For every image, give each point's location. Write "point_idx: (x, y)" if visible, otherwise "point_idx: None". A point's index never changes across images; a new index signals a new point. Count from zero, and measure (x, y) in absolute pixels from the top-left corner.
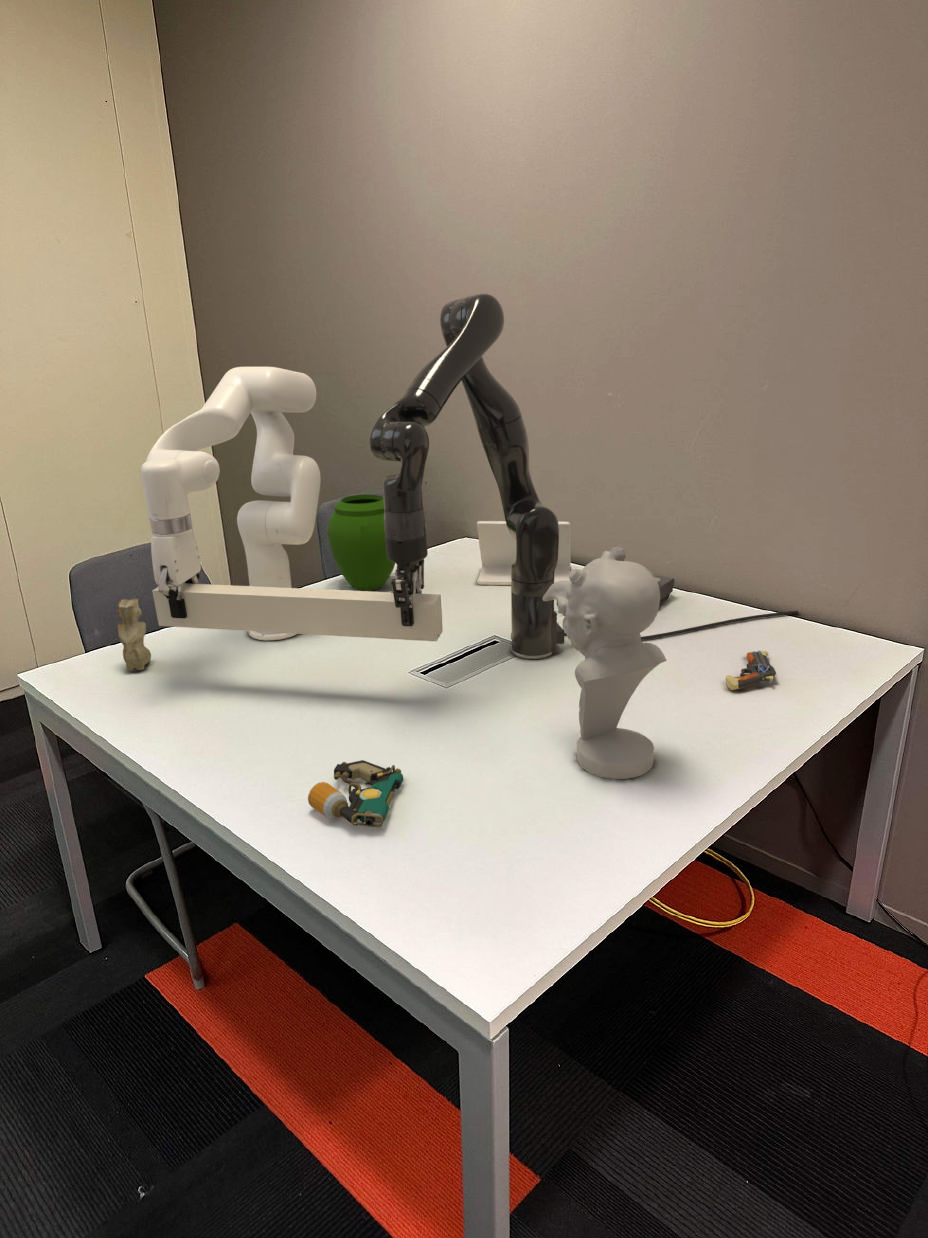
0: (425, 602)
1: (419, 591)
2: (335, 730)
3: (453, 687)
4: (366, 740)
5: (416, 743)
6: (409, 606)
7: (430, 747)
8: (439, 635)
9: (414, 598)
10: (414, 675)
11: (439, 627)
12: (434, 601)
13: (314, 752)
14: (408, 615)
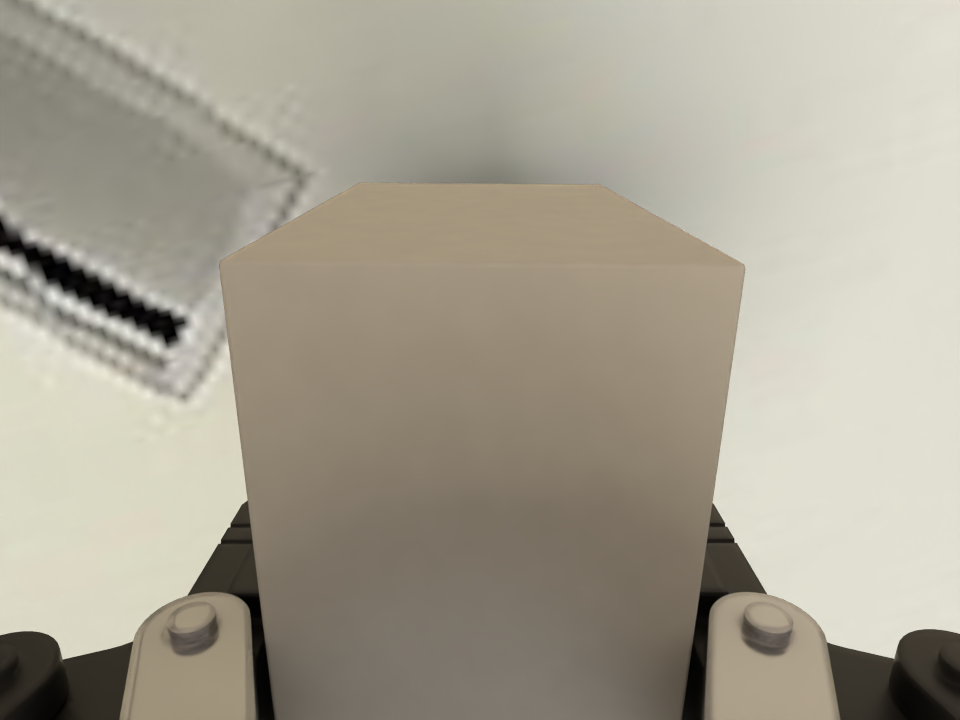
0: (698, 444)
1: (250, 663)
2: (777, 530)
3: (290, 139)
4: (863, 394)
5: (897, 176)
6: (920, 642)
7: (939, 98)
8: (489, 184)
9: (507, 654)
10: (209, 365)
11: (473, 192)
12: (640, 291)
13: (954, 547)
14: (740, 564)
